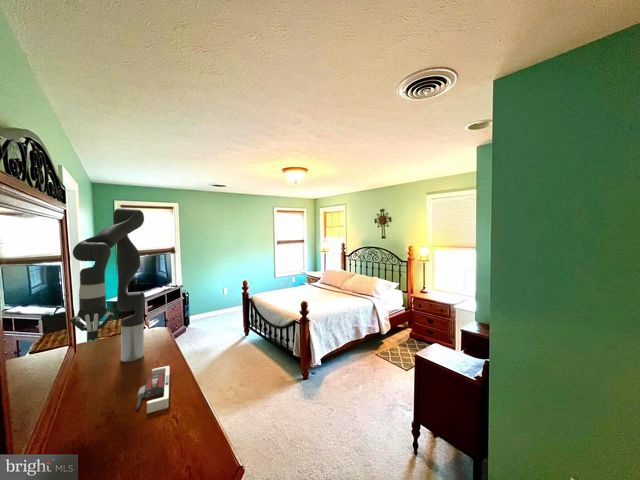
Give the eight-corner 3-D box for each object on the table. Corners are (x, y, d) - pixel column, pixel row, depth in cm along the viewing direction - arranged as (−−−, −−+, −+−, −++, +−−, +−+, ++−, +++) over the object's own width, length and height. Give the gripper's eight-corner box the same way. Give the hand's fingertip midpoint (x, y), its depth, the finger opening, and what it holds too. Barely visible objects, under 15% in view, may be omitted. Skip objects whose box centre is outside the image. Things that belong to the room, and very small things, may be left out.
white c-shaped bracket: (152, 376, 111) (152, 367, 111) (169, 373, 115) (169, 364, 115) (146, 413, 89) (146, 402, 89) (168, 407, 92) (168, 396, 92)
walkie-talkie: (141, 383, 107) (133, 413, 90) (141, 373, 107) (133, 400, 90) (165, 378, 111) (162, 405, 94) (166, 368, 111) (162, 393, 94)
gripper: (116, 291, 102) (116, 333, 103) (72, 294, 95) (72, 339, 96) (113, 295, 96) (113, 340, 96) (65, 299, 89) (65, 347, 90)
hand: (93, 339), depth 96 cm, fingers closed
